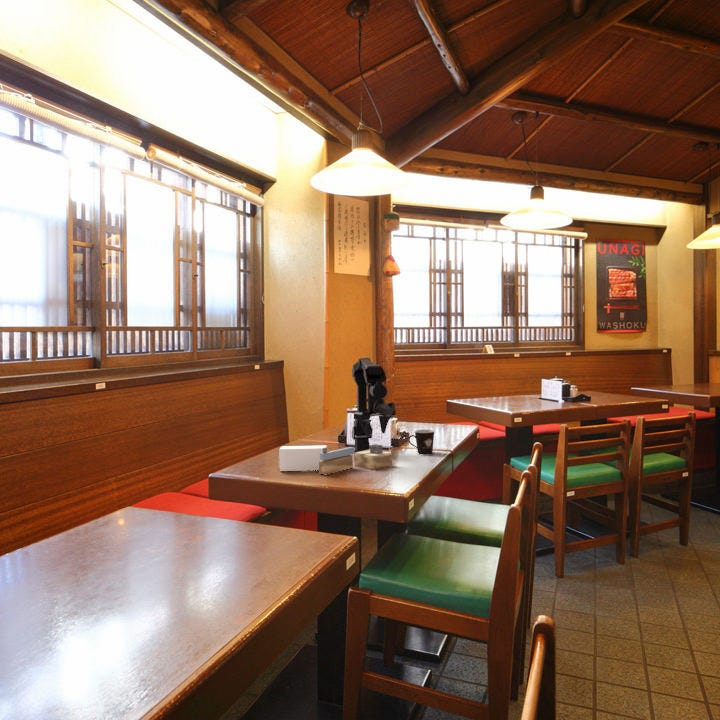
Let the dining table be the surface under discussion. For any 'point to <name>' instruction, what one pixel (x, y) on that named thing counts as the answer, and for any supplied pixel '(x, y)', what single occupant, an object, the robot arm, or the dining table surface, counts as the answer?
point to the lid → (373, 452)
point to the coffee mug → (423, 441)
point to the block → (336, 453)
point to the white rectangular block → (299, 458)
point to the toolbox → (373, 462)
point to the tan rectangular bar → (335, 464)
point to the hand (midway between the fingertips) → (375, 434)
